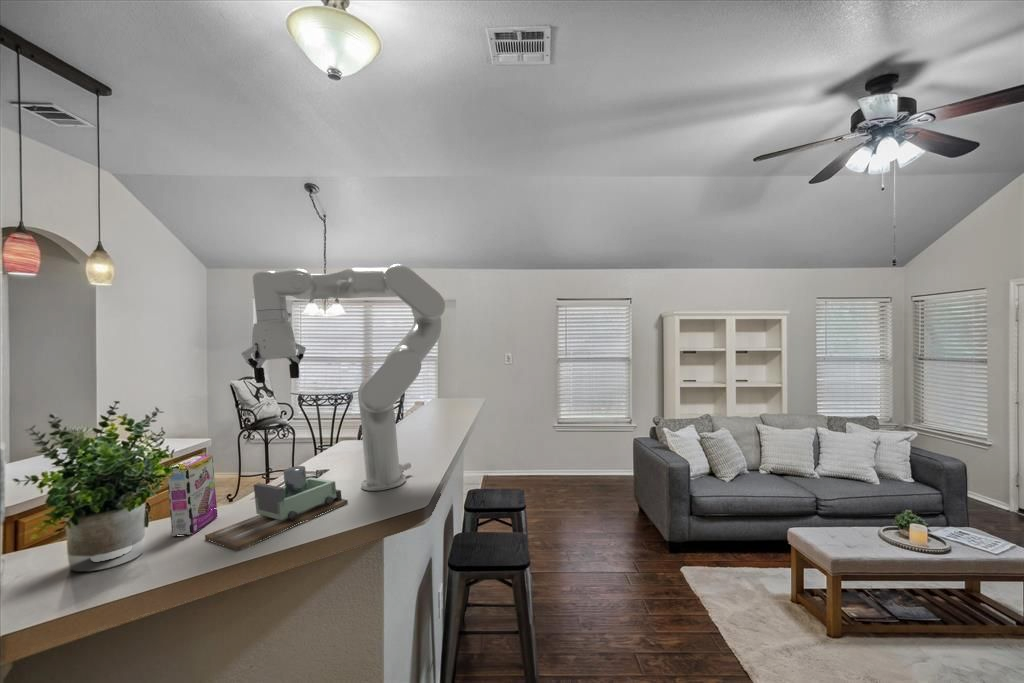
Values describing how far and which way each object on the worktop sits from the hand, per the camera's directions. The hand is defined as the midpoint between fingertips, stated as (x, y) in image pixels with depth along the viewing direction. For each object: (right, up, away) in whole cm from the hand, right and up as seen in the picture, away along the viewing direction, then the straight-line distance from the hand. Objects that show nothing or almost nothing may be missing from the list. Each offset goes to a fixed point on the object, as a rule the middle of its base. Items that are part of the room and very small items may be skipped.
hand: (278, 380), depth 127 cm
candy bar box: (-14, -35, -12) cm, 40 cm away
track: (+7, -33, -13) cm, 36 cm away
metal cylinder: (+9, -30, -9) cm, 32 cm away
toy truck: (+9, -31, -9) cm, 34 cm away
